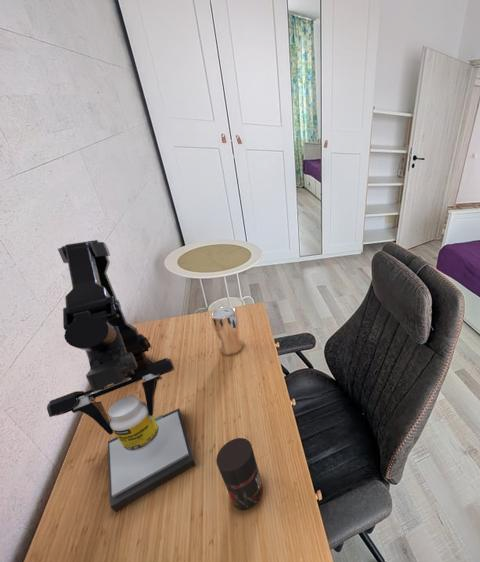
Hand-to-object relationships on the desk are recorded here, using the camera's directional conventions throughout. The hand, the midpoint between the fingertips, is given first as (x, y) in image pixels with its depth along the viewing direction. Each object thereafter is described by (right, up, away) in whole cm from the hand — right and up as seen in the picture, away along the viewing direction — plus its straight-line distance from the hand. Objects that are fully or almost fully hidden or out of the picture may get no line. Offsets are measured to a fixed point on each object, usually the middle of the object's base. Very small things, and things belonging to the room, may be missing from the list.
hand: (132, 424), depth 57 cm
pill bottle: (-1, -5, +4) cm, 7 cm away
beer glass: (+1, +6, +38) cm, 38 cm away
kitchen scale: (-2, -11, +7) cm, 13 cm away
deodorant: (+22, -16, +2) cm, 27 cm away
